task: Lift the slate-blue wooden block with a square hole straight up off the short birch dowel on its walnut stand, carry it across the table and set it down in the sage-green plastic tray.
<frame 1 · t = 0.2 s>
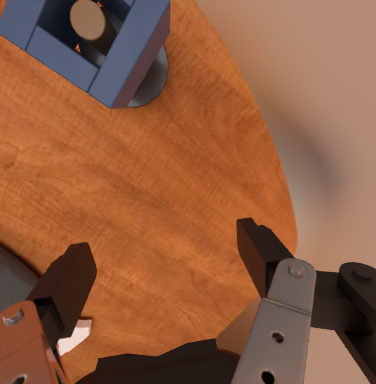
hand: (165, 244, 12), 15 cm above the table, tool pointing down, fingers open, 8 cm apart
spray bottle: (12, 287, 29), on the table
dowel stand: (129, 65, 21), on the table
holed block: (108, 43, 14), point 8 cm above the table, touching dowel stand
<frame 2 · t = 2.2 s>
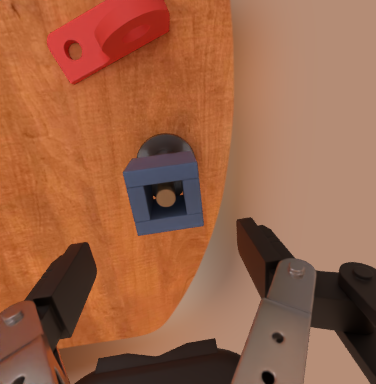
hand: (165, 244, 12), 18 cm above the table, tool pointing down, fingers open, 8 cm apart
dowel stand: (166, 162, 29), on the table
bracket: (109, 36, 24), on the table
holed block: (166, 182, 22), point 8 cm above the table, touching dowel stand
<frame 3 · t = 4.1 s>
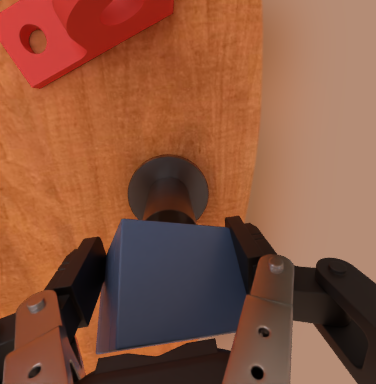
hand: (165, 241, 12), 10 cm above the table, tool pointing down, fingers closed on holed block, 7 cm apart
dowel stand: (168, 192, 22), on the table
bracket: (88, 20, 16), on the table
holed block: (163, 245, 12), point 10 cm above the table, tilted 35°, touching dowel stand, gripper
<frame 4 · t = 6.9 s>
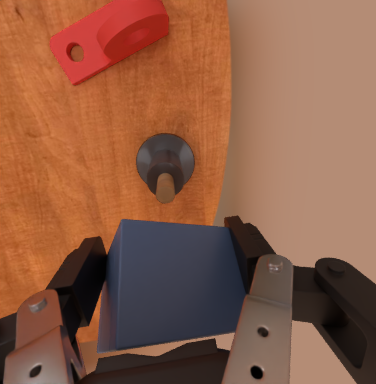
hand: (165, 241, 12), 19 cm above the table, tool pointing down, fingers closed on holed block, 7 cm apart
dowel stand: (165, 162, 30), on the table
bracket: (110, 39, 24), on the table
holed block: (163, 245, 12), point 19 cm above the table, tilted 35°, touching gripper
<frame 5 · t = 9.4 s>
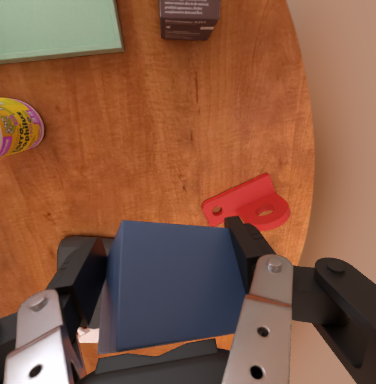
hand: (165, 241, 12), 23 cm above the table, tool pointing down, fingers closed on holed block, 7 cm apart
supplement bottle: (21, 124, 30), on the table
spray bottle: (93, 289, 42), on the table
bracket: (236, 198, 37), on the table
holed block: (163, 246, 12), point 23 cm above the table, tilted 35°, touching gripper
tray: (47, 8, 26), on the table
box: (184, 12, 27), on the table
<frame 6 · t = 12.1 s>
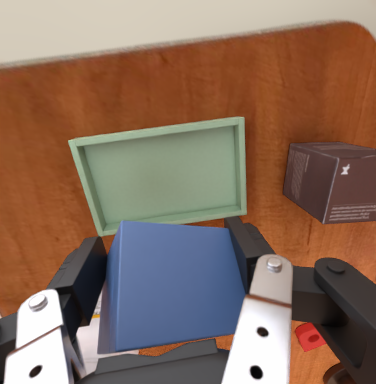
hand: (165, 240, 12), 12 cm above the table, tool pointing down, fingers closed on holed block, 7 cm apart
supplement bottle: (121, 274, 28), on the table
dowel stand: (343, 374, 40), on the table
bracket: (331, 321, 35), on the table
holed block: (163, 246, 12), point 12 cm above the table, tilted 35°, touching gripper
tray: (166, 175, 24), on the table
box: (309, 168, 25), on the table
when the fingers open (3 cm above the table, at t = 14.6 s): holed block drops 2 cm, resting on tray.
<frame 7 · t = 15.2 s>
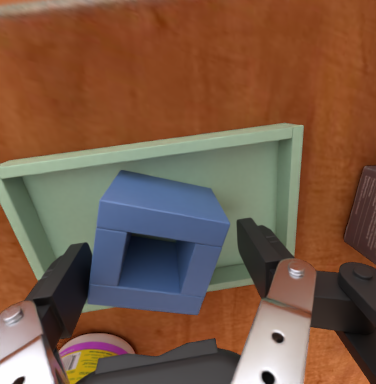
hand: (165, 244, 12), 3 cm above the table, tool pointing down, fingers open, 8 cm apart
supplement bottle: (99, 353, 19), on the table
holed block: (158, 219, 14), point 1 cm above the table, touching tray
tray: (164, 217, 15), on the table
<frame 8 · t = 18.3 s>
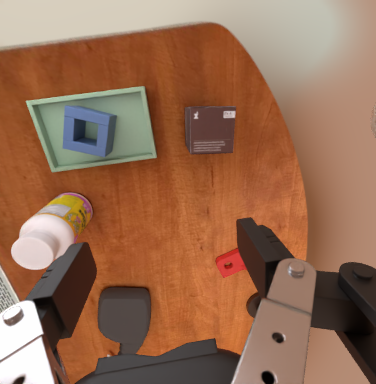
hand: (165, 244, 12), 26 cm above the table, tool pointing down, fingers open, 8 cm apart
supplement bottle: (74, 208, 38), on the table
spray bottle: (125, 327, 50), on the table
dowel stand: (262, 303, 51), on the table
bracket: (244, 254, 45), on the table
holed block: (95, 129, 33), resting on tray
tray: (99, 130, 34), on the table
box: (203, 126, 35), on the table
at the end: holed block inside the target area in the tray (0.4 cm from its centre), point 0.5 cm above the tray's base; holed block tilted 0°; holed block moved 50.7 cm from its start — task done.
